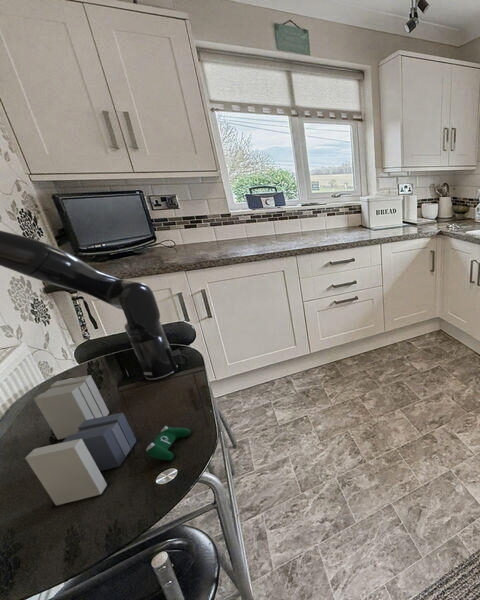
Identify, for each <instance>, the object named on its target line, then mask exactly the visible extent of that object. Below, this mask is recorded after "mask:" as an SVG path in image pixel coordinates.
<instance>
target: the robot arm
mask: <svg viewBox="0 0 480 600" xmlns="http://www.w3.org/2000/svg"><path fill="white" fill-rule="evenodd" d="M0 267H3V268H6V269H8V270H11V271H13V272H16V273H19V274H22V275H24V276H27V277H30V278H33V279H36V280H38V281H41V282H44V283H48V284H51V285H54V286H57V287H60V288H64V289H68V290H71V291H75V292H78V293H79V292H80V293H82V294H86V295H88V296H90V297H93V298H94V299H97V300H100V301H102V302H104V303H106V304H108V305H110V306H112V307H114V308H117V309H119V310H122V311H123V314H124V317H125V319H126V323H125V324H124V330H125V333H126V335H127V337H128V340H129V342H130V344H131V346H132V349H133V352H134V353H135V356H136V358H137V361H138V363H139V365H140V368H141V371H142V373H143V375H144V378H145V379H146V381H149V382H152V381H159V380H162V379H165V378H168V377H170V376H172V375H174V374H175V373H177V372H179V366H178V363H179V362H182V361H183V360H182V358H184V359H185V365H188V364H189V363H190V358H189V356H188V355H186V354H184V353H181V351H180V349H179V348H178V349H174V350H172V346H171V344H170V342H169V341H168V339H167V338H168V337H167V335H166V333H165V330H164V328H163V325H162V322H161V313H160V309H159V306H158V303H157V300H156V297H155V294H154V292H153V290H152V289H151V287H150V286H148V285H147V284H146V283H144V282H138V281H131V280H125V279H122V278H118V277H114V276H112V275H109V274H107V273H104V272H101V271H99V270H97V269H95V268H93V267H92V266H91V265H89V264H87V263H86V262H85V261H83V260H82V259H80V258H78V256H77V257H76V256H75V255H73V254H71V253H68V252H67V251H66V250H62V249H61V248H58V247H56V246H53V245H51V244H49V243H47V242H44V241H41V240H39V239H34V238H31V237H28V236H25V235H21V234H16V233H12V232H8V231H3V230H0Z"/></svg>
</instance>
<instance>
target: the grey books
mask: <svg viewBox="0 0 480 600" xmlns="http://www.w3.org/2000/svg"><path fill="white" fill-rule="evenodd" d="M78 429H79V431H78V432H77V433H76V434H74V435H69V436H68V437H67V438H64V440H63V441H62V442H61V443H63V442H68V441H73V440H77V439H82V440H83V442H84V444H85V446H86V447H87V449H88V451H89V453H90V455H91V456H92V458H93V460H94V462H95V464H96V465H97V467H98V469H99V471H100V472H102V471H106V470H110V469H111V470H112V469H114V468H119V467H120V466H121V465H122V463H123V462H124V461H125V459H126V457H127V456H128V454H129V453H130V451H131V450H132V448H133V447H134V445H135V444H136V443H137V439H136V437H135V435H134V433H133V431H132V429H131V427H130V424H129V422H128V420H127V418H126V416H125V413H124V412H119V413H113V414H108V415H107V416H104V417H99V418H94V419H89V420H85V421H84V422H83V423H82V424H81V425H80V426H79V427H78Z"/></svg>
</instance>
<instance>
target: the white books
mask: <svg viewBox="0 0 480 600" xmlns="http://www.w3.org/2000/svg"><path fill="white" fill-rule="evenodd" d="M33 400H34V402H35V404H36V406H37V407H38V409H39V410H40V412H41V414H42V416H43V418H44V419H45V421H46V422H47V424H48V426H49V427H50V429H51V431H52V432H53V434H54V436H55V437H56V439H57V440H63V439H66V438H67V437H68V436H69V435H74V434H76V433H77V432H78V431H79V429H78V427H79V426H80V425H81V424H82V423H83V422H84V421H85V420H89V419H94V418H99V417H104V416H109V415H110V411H109V408H108V407H107V405H106V402H105V401H104V399H103V396H102V395H101V392H100V391H99V389H98V386H97V385H96V382H95V381H94V379H93V377H92V374H89V375H84V376H77V377H72V378H67V379H62V380H56V381H55V382H54V383H52V384H51V385H50V388H48V389H47V390H46V391H44V392H43V393H40V394H38V395H37V396H35V398H34V399H33Z"/></svg>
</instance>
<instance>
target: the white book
mask: <svg viewBox="0 0 480 600" xmlns="http://www.w3.org/2000/svg"><path fill="white" fill-rule="evenodd" d="M62 442H63V441H62ZM62 442H59V443H55V444H50V445H45V446H41V447H36V448H34V449H32V451H30V452H29V453H28V454H27V455H26V457H24V458H25V461H26V462H27V463H28V465H29V466H30V468H31V469H32V471H33V473H34V474H35V476H36V477H37V479H38V480H39V483H41V485H42V487H43V488H44V490H45V491H46V492H47V494H48V496H49V497H50V499H51V500H52V502H53V503H54V505H55V506H61V505H64V504H67V503H68V504H69V503H73V502H76V501H80V500H84V499H88V498H92V497H96V496H100V495H102V494H103V492H104V490H105V489H106V487H107V486H108V483H107V481H106V480H105V478H104V476H103V475H102V473H101V471H99V469H98V467H97V465H96V464H95V462H94V460H93V458H92V456H91V455H90V453H89V451H88V449H87V447H86V446H85V444H84V442H83V440H82V439H77V440H73V441H68V442H63V443H62Z"/></svg>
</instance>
